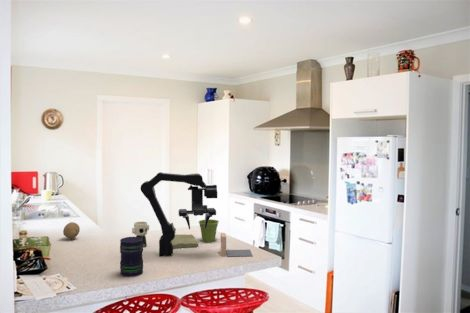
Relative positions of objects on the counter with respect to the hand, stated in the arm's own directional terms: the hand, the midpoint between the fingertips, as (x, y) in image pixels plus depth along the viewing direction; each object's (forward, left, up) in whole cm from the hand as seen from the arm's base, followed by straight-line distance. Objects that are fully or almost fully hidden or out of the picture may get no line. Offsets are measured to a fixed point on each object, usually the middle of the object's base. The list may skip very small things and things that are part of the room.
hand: (197, 228), depth 203 cm
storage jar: (-31, -23, -13) cm, 41 cm away
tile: (+13, -2, -13) cm, 19 cm away
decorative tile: (-8, +22, -14) cm, 27 cm away
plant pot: (+9, +26, -13) cm, 30 cm away
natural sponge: (-69, +41, -13) cm, 81 cm away
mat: (+21, -2, -13) cm, 25 cm away
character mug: (-29, +20, -13) cm, 37 cm away
